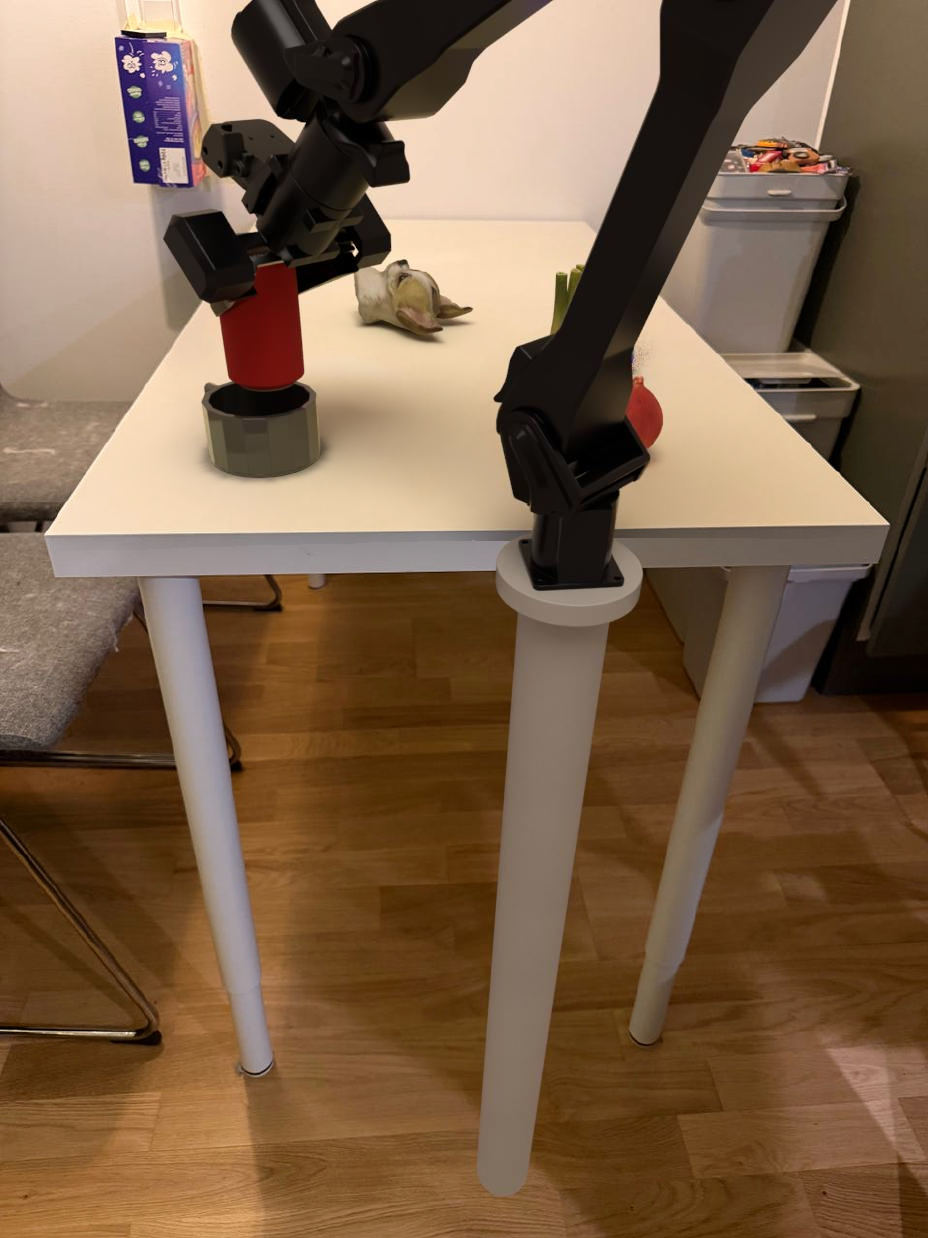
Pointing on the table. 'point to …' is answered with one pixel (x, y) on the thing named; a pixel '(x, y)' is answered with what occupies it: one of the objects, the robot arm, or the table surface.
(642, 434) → the onion
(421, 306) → the ceramic sculpture
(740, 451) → the table surface
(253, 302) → the beverage can
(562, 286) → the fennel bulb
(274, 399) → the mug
